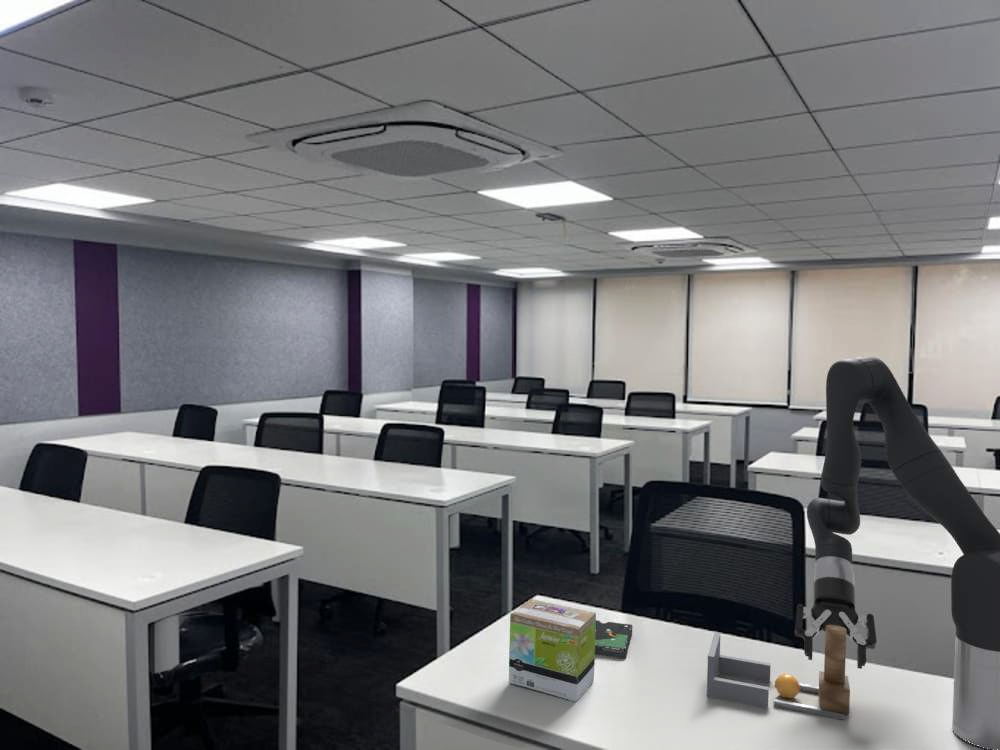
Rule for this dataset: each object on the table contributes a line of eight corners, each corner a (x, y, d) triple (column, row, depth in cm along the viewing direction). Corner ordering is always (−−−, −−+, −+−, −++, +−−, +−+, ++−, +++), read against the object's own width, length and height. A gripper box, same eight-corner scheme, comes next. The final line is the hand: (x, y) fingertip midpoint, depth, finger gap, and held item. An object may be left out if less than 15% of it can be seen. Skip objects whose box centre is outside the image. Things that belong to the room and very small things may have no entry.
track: (840, 695, 138) (840, 690, 138) (843, 720, 129) (844, 714, 129) (775, 683, 143) (775, 678, 143) (773, 706, 134) (773, 701, 134)
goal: (770, 680, 144) (771, 641, 144) (767, 708, 133) (769, 666, 133) (713, 669, 149) (714, 632, 148) (706, 696, 137) (707, 655, 137)
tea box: (507, 685, 141) (508, 612, 140) (528, 665, 149) (529, 597, 149) (577, 704, 134) (578, 627, 133) (595, 682, 142) (597, 610, 142)
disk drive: (589, 630, 170) (579, 655, 156) (589, 619, 170) (579, 642, 156) (632, 635, 168) (626, 661, 153) (632, 624, 168) (627, 648, 153)
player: (846, 699, 136) (849, 625, 135) (849, 714, 130) (851, 636, 130) (818, 694, 138) (821, 620, 137) (819, 708, 132) (822, 631, 132)
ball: (791, 691, 140) (792, 669, 140) (803, 702, 136) (804, 679, 135) (770, 692, 139) (771, 670, 139) (782, 703, 135) (783, 680, 135)
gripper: (796, 570, 144) (794, 647, 133) (875, 580, 138) (879, 661, 128) (795, 588, 149) (793, 663, 139) (871, 598, 143) (875, 677, 133)
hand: (834, 662), depth 133 cm, fingers open, 8 cm apart
